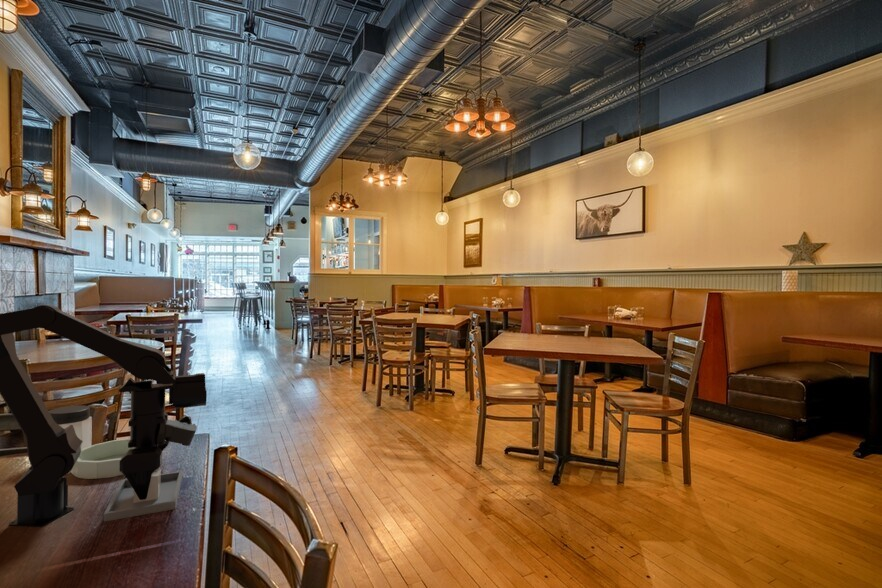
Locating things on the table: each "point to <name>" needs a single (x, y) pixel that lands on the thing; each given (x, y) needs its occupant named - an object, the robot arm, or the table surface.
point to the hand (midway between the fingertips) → (147, 489)
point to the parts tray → (126, 508)
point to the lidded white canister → (75, 421)
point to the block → (152, 487)
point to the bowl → (101, 460)
